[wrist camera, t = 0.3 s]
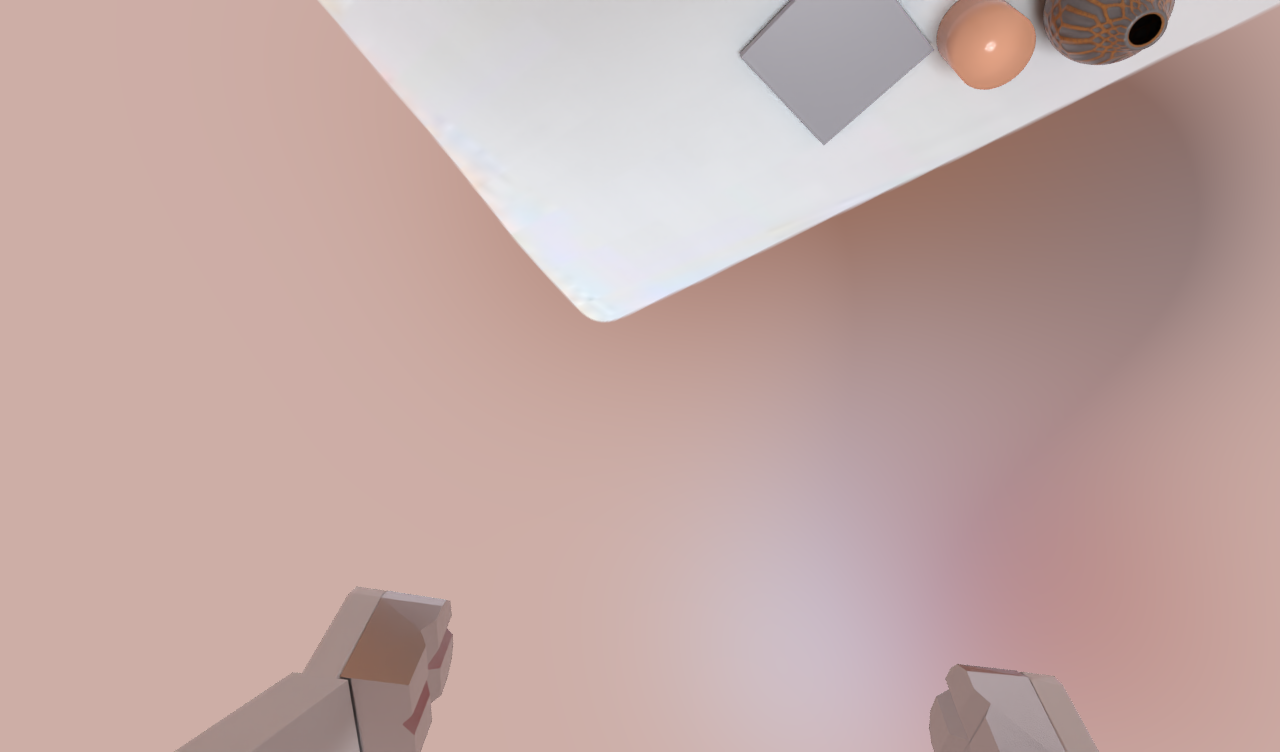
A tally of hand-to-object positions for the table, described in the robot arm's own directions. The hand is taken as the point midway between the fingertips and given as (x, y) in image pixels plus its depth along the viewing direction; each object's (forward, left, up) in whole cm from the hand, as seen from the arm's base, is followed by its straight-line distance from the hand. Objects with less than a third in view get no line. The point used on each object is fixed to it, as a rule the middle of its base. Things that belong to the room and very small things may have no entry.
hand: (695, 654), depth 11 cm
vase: (-18, +23, -50) cm, 58 cm away
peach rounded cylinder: (-11, +19, -50) cm, 54 cm away
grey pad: (-4, +13, -50) cm, 51 cm away
